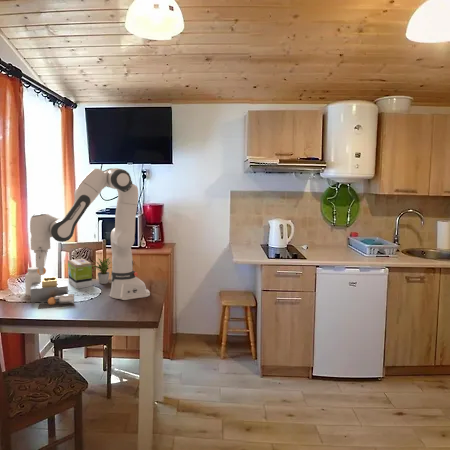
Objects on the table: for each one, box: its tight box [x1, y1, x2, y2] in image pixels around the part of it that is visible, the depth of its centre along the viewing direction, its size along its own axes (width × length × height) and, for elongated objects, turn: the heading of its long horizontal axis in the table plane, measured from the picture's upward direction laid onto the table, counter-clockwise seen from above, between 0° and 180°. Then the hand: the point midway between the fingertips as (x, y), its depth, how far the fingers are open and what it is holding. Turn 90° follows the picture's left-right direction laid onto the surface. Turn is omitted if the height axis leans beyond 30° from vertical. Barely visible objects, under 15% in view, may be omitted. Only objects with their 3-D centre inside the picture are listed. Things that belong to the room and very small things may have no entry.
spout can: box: [55, 293, 75, 305], centre depth 209 cm, size 9×5×5 cm, turn 111°
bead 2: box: [47, 297, 57, 305], centre depth 208 cm, size 4×4×4 cm
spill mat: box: [37, 301, 75, 310], centre depth 208 cm, size 17×9×1 cm, turn 111°
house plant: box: [92, 257, 112, 285], centre depth 252 cm, size 14×14×16 cm
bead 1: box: [37, 267, 47, 276], centre depth 202 cm, size 4×4×4 cm
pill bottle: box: [24, 266, 42, 297], centre depth 225 cm, size 8×8×15 cm
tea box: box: [67, 258, 93, 290], centre depth 246 cm, size 15×10×15 cm, turn 39°
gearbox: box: [30, 276, 69, 304], centre depth 218 cm, size 18×12×11 cm, turn 111°
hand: (41, 272), depth 202 cm, fingers closed on bead 1, 4 cm apart
